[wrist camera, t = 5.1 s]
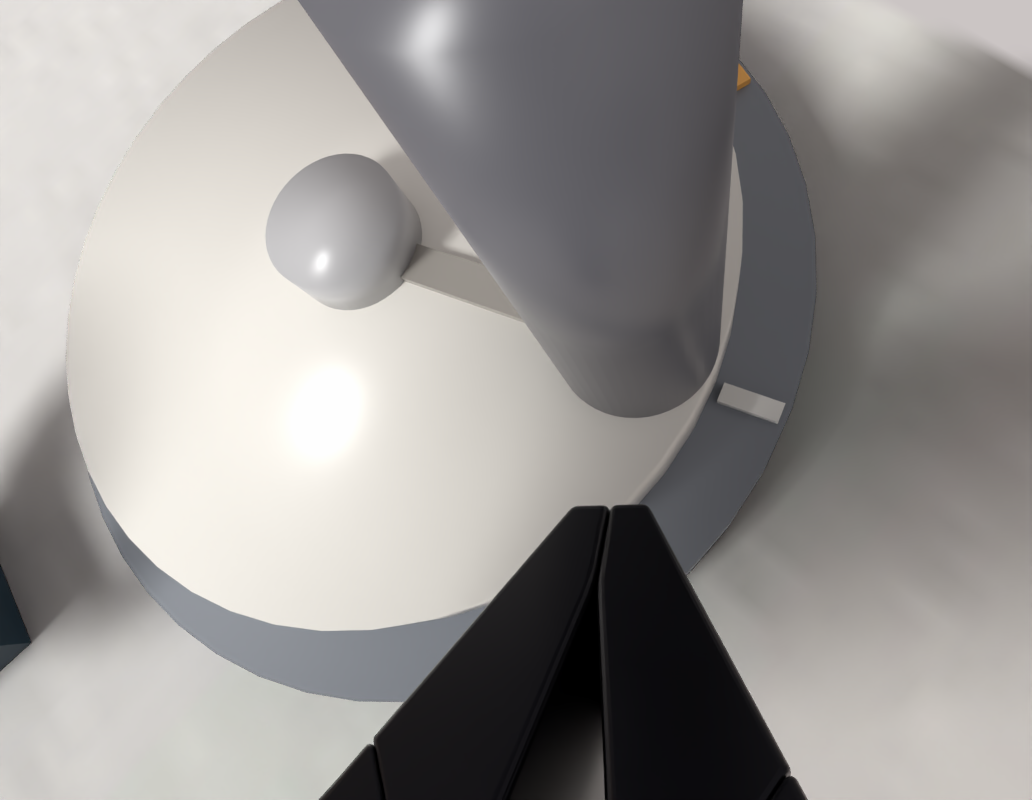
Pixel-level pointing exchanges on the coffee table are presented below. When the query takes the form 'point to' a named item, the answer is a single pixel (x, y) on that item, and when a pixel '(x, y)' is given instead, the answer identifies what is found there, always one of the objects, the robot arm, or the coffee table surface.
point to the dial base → (673, 500)
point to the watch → (10, 626)
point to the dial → (408, 295)
